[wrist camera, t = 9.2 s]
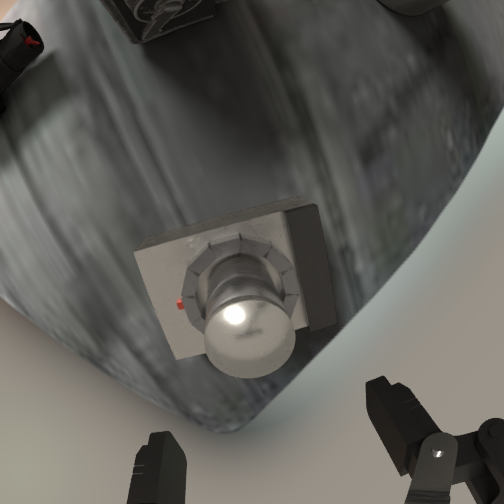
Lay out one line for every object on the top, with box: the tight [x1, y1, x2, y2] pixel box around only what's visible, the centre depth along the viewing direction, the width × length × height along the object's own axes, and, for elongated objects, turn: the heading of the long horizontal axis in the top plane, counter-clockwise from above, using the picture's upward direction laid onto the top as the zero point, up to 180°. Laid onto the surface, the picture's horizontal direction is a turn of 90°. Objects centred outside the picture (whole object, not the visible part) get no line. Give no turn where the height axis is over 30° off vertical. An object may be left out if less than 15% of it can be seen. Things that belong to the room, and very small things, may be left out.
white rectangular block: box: [134, 196, 337, 360], centre depth 26 cm, size 14×10×6 cm
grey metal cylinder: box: [204, 257, 295, 378], centre depth 20 cm, size 5×5×8 cm
